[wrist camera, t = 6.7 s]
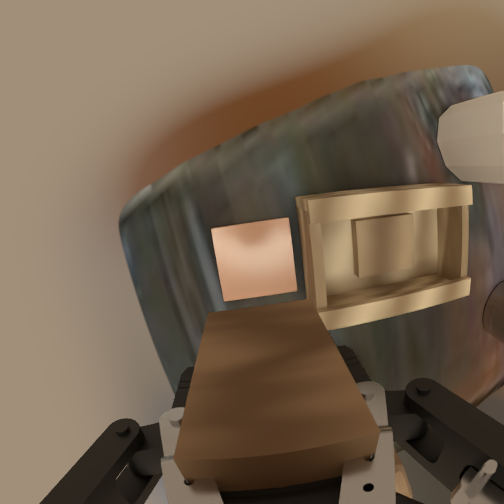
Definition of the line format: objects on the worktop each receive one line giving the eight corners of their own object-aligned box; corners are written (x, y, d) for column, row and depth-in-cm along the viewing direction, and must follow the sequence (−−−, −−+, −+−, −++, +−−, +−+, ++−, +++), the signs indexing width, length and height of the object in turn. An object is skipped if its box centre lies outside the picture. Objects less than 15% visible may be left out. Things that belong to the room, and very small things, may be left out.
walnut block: (310, 298, 13) (380, 430, 5) (314, 385, 14) (357, 515, 6) (208, 312, 13) (173, 459, 5) (228, 397, 14) (221, 534, 6)
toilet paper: (497, 158, 29) (558, 158, 17) (460, 197, 30) (527, 207, 19) (465, 94, 27) (525, 76, 16) (422, 127, 29) (489, 111, 17)
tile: (287, 216, 31) (288, 217, 30) (296, 288, 33) (297, 290, 32) (211, 228, 31) (211, 228, 30) (224, 299, 33) (224, 301, 32)
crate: (436, 182, 30) (471, 185, 23) (438, 277, 33) (469, 295, 26) (294, 196, 30) (307, 200, 24) (306, 303, 33) (319, 331, 26)
